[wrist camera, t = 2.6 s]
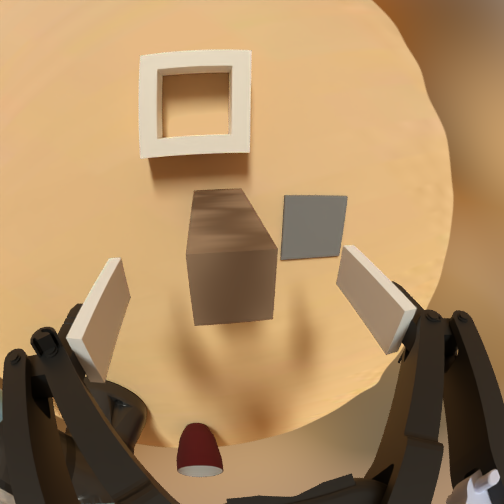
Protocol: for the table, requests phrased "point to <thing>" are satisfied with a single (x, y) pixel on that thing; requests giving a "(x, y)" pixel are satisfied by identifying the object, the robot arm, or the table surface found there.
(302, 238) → the mat
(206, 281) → the peg
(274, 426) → the table surface
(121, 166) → the table surface
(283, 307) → the table surface
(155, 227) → the table surface
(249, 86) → the socket block
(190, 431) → the mug
